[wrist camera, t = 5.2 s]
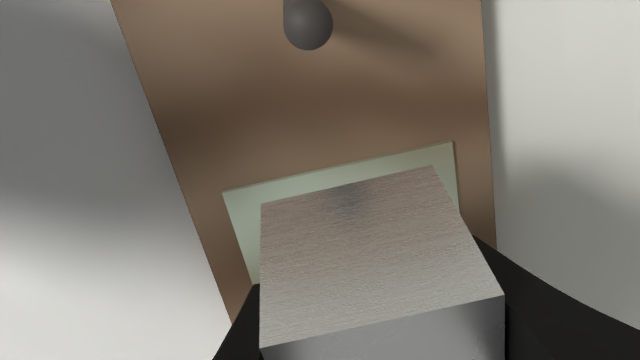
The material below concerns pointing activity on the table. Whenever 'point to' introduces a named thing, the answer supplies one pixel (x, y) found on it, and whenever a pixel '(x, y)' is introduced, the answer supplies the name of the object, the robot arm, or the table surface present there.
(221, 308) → the table surface
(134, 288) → the table surface
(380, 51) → the stand
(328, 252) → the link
